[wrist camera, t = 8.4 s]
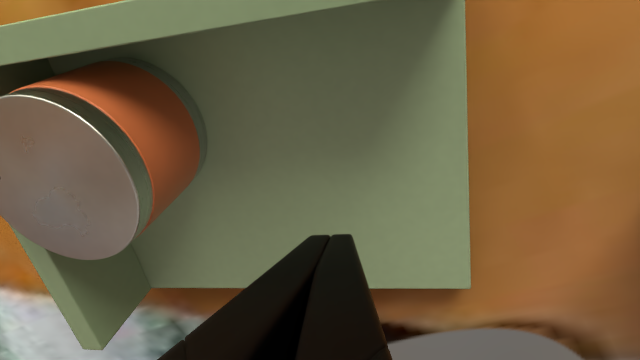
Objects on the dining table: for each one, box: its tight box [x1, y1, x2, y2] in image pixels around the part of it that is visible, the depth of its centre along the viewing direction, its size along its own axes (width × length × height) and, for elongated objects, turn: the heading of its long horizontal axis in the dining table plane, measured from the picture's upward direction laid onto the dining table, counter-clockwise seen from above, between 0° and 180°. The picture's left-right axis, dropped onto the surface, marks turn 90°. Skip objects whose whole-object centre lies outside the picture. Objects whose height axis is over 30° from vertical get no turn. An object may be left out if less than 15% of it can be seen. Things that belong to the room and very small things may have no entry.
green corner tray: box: [0, 0, 471, 350], centre depth 18 cm, size 19×15×6 cm
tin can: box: [0, 57, 207, 260], centre depth 17 cm, size 7×7×6 cm
